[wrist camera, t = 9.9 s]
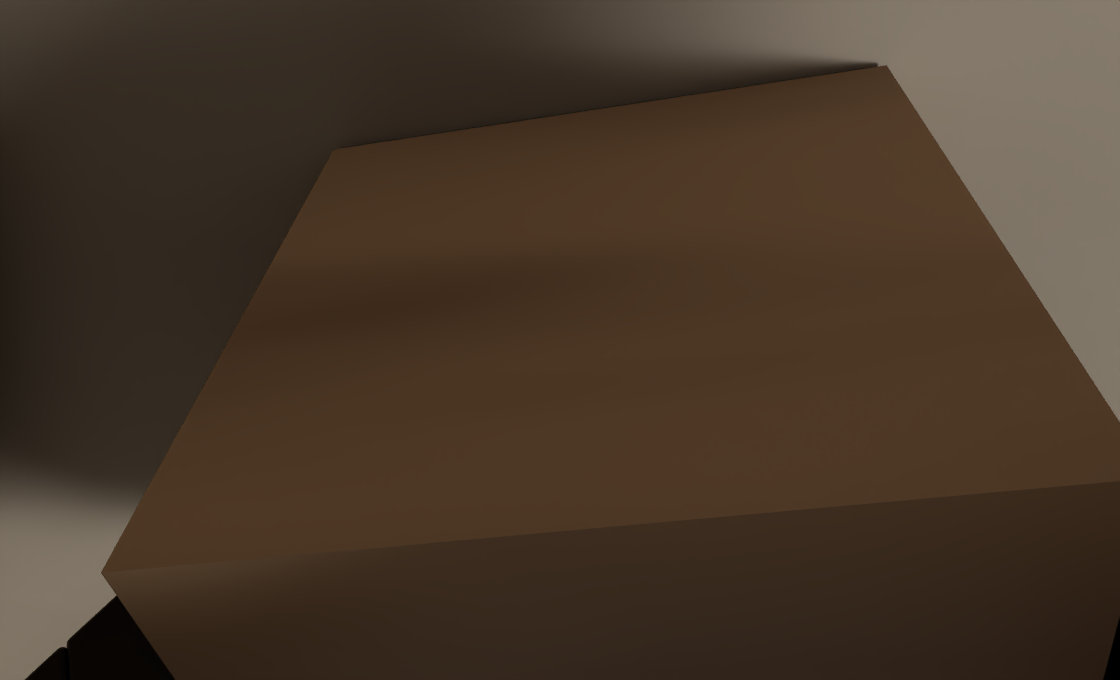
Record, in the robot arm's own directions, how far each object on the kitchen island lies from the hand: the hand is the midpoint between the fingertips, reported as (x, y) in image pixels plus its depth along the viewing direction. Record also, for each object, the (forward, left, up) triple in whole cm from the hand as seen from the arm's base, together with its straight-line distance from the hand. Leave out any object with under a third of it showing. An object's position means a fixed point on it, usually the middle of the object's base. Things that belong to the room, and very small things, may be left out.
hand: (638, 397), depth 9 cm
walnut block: (0, 0, -1) cm, 1 cm away
